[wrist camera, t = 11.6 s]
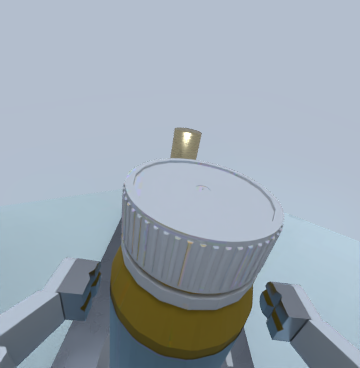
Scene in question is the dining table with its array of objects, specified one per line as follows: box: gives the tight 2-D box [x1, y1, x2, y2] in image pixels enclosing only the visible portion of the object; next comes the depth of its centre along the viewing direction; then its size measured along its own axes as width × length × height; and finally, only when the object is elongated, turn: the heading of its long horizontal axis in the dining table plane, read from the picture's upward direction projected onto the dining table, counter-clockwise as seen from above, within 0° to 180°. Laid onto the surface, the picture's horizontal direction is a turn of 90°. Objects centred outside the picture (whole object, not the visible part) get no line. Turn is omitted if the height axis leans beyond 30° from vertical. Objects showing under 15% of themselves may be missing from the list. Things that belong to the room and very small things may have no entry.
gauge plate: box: [51, 128, 254, 368], centre depth 18 cm, size 15×27×15 cm, turn 179°
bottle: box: [110, 158, 284, 368], centre depth 11 cm, size 7×7×15 cm
